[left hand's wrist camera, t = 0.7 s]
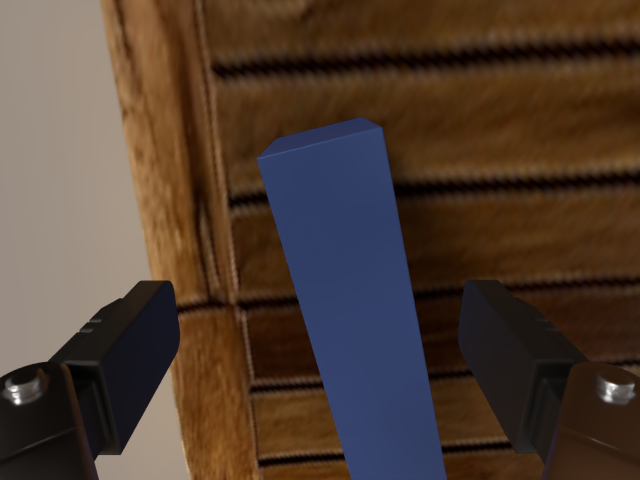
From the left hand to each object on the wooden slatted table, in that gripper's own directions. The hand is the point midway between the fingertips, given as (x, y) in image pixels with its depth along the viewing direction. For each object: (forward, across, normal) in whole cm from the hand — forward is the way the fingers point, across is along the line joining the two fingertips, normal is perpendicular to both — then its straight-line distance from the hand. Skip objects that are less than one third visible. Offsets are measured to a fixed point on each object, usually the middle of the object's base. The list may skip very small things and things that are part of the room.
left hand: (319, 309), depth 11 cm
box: (+18, +3, -9) cm, 21 cm away
